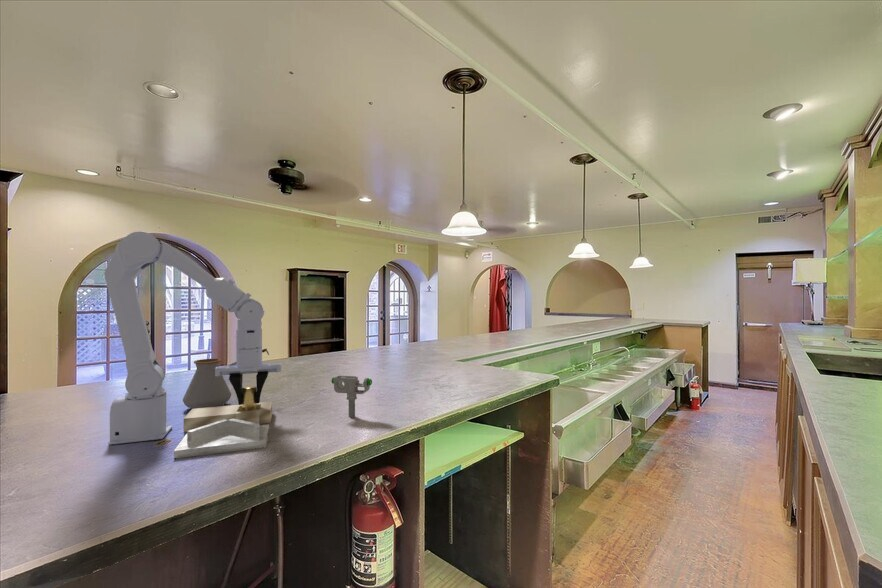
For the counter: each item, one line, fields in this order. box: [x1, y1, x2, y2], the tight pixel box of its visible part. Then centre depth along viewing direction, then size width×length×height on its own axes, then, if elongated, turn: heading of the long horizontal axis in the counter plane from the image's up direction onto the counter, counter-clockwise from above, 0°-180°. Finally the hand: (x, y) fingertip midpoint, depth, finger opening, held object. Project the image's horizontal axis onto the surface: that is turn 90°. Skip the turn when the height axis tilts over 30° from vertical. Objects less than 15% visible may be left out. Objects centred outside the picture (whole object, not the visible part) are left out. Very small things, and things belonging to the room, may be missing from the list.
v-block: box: [173, 419, 270, 459], centre depth 82 cm, size 16×10×4 cm, turn 110°
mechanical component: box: [331, 375, 373, 418], centre depth 100 cm, size 3×10×10 cm, turn 79°
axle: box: [242, 385, 257, 411], centre depth 97 cm, size 3×3×8 cm
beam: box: [183, 401, 273, 433], centre depth 96 cm, size 18×8×3 cm, turn 111°
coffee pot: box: [182, 348, 270, 411], centre depth 111 cm, size 21×12×15 cm, turn 123°
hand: (249, 403), depth 97 cm, fingers closed on axle, 3 cm apart
